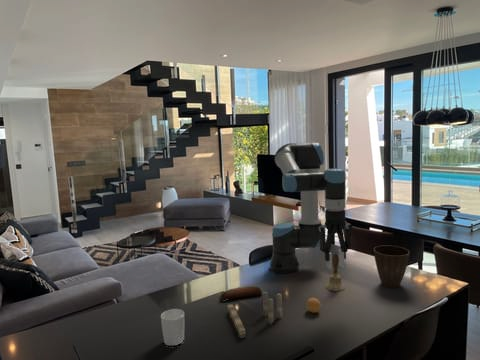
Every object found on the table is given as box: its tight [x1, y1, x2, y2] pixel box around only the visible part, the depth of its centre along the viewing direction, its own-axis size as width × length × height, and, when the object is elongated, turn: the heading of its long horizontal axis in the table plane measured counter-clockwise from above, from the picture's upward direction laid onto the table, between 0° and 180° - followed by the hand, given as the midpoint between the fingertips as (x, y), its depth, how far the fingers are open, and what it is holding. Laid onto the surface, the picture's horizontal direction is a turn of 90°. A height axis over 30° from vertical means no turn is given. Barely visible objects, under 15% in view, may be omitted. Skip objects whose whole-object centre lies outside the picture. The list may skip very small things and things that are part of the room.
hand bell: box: [325, 252, 346, 292], centre depth 162 cm, size 8×8×16 cm
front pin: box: [275, 293, 283, 320], centre depth 138 cm, size 2×2×9 cm
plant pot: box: [373, 245, 411, 289], centre depth 163 cm, size 15×15×16 cm
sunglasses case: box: [220, 285, 263, 301], centre depth 158 cm, size 18×7×7 cm
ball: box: [306, 297, 322, 314], centre depth 141 cm, size 6×6×6 cm
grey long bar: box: [227, 304, 247, 335], centre depth 134 cm, size 20×2×3 cm, turn 14°
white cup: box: [160, 308, 185, 346], centre depth 124 cm, size 8×8×10 cm
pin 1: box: [262, 291, 269, 318], centre depth 139 cm, size 2×2×9 cm
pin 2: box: [267, 298, 275, 323], centre depth 134 cm, size 2×2×9 cm
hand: (335, 267), depth 142 cm, fingers open, 4 cm apart
